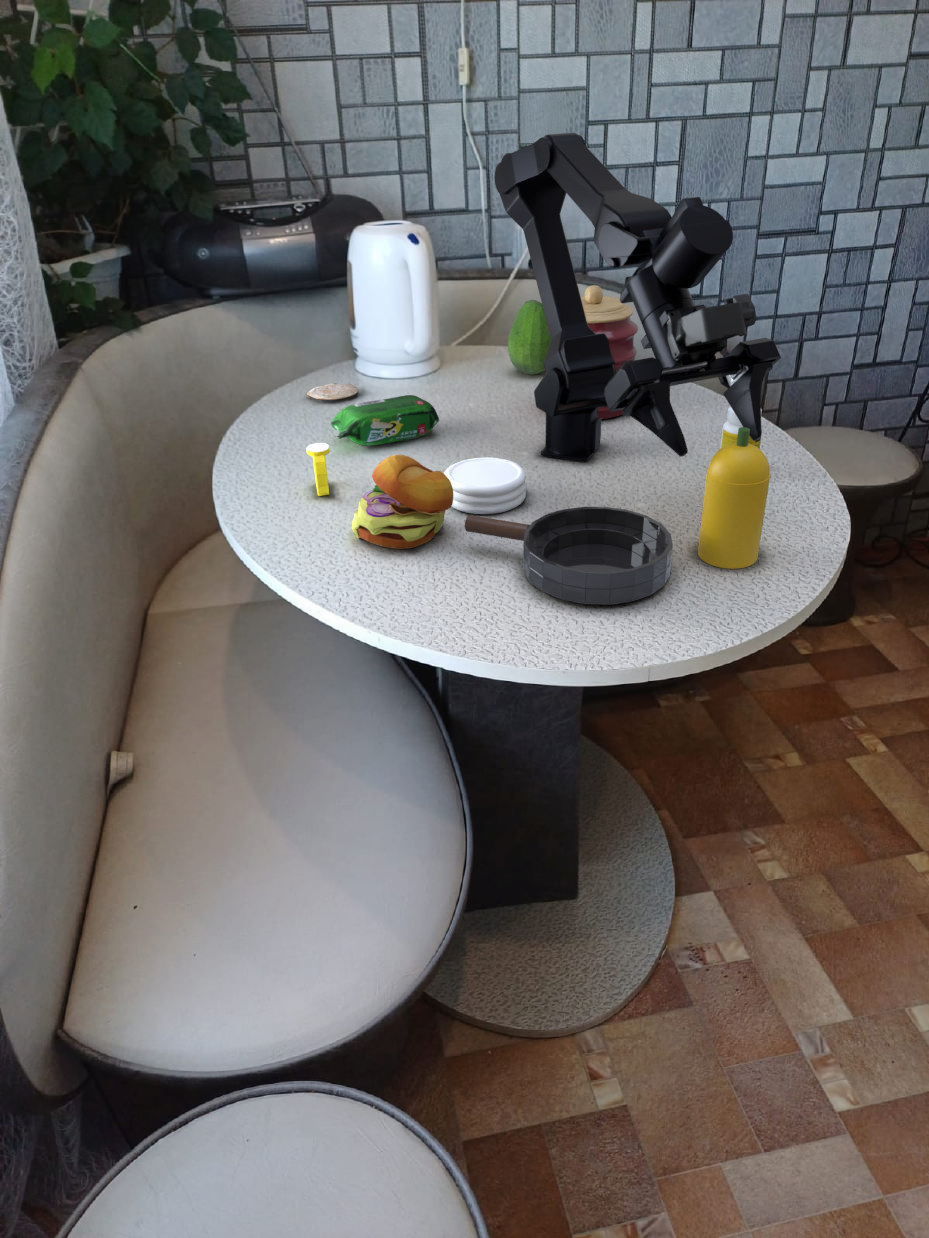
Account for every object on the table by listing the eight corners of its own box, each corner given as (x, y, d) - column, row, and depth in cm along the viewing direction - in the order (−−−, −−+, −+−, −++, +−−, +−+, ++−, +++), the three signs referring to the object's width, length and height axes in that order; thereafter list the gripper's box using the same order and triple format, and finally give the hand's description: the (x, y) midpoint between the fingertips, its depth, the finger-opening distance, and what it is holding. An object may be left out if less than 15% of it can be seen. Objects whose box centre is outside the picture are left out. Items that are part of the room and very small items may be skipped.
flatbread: (350, 384, 153) (349, 378, 153) (365, 397, 148) (364, 391, 147) (302, 392, 151) (301, 386, 150) (315, 406, 145) (314, 399, 144)
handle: (464, 534, 101) (464, 519, 100) (471, 527, 102) (470, 512, 101) (525, 544, 98) (525, 529, 97) (531, 537, 100) (531, 521, 99)
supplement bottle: (756, 481, 116) (766, 416, 111) (717, 479, 117) (725, 414, 112) (754, 466, 120) (763, 403, 115) (716, 464, 121) (724, 401, 116)
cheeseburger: (350, 516, 110) (364, 437, 106) (438, 530, 112) (456, 453, 107) (348, 555, 102) (363, 470, 97) (444, 569, 104) (463, 487, 99)
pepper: (692, 563, 99) (706, 435, 91) (704, 538, 103) (718, 415, 96) (752, 573, 96) (771, 443, 89) (761, 547, 101) (781, 422, 94)
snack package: (325, 440, 132) (321, 405, 130) (427, 421, 138) (425, 386, 135) (341, 457, 127) (338, 421, 124) (447, 436, 132) (445, 401, 130)
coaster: (514, 519, 109) (514, 492, 107) (433, 511, 111) (431, 484, 109) (534, 486, 117) (534, 459, 115) (458, 478, 119) (457, 452, 118)
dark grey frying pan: (502, 592, 94) (501, 557, 92) (551, 530, 106) (552, 498, 104) (648, 620, 89) (651, 584, 87) (683, 552, 101) (686, 518, 99)
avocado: (542, 383, 151) (543, 307, 145) (500, 377, 155) (499, 302, 149) (563, 369, 157) (565, 296, 151) (522, 364, 161) (522, 292, 154)
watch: (310, 483, 120) (304, 439, 116) (332, 481, 120) (327, 436, 117) (313, 502, 115) (307, 456, 111) (335, 499, 115) (330, 454, 112)
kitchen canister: (531, 413, 139) (531, 291, 130) (569, 388, 149) (573, 272, 139) (611, 427, 133) (618, 300, 124) (646, 400, 143) (655, 280, 133)
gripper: (625, 279, 89) (684, 426, 86) (782, 257, 95) (841, 393, 92) (580, 343, 99) (631, 476, 96) (725, 319, 105) (776, 444, 102)
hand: (721, 446), depth 96 cm, fingers open, 9 cm apart
